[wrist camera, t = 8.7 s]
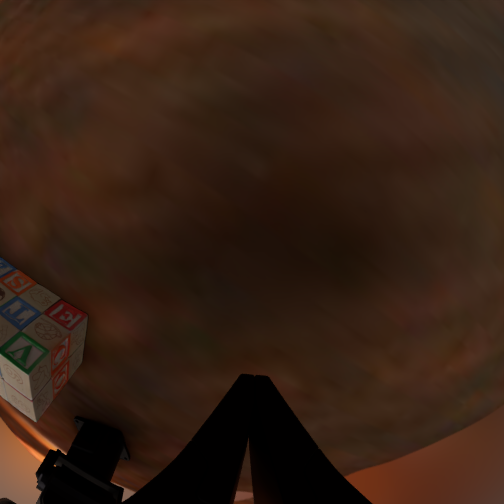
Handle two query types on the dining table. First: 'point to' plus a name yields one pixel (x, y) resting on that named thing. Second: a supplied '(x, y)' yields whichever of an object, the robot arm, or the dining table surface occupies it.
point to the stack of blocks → (36, 342)
